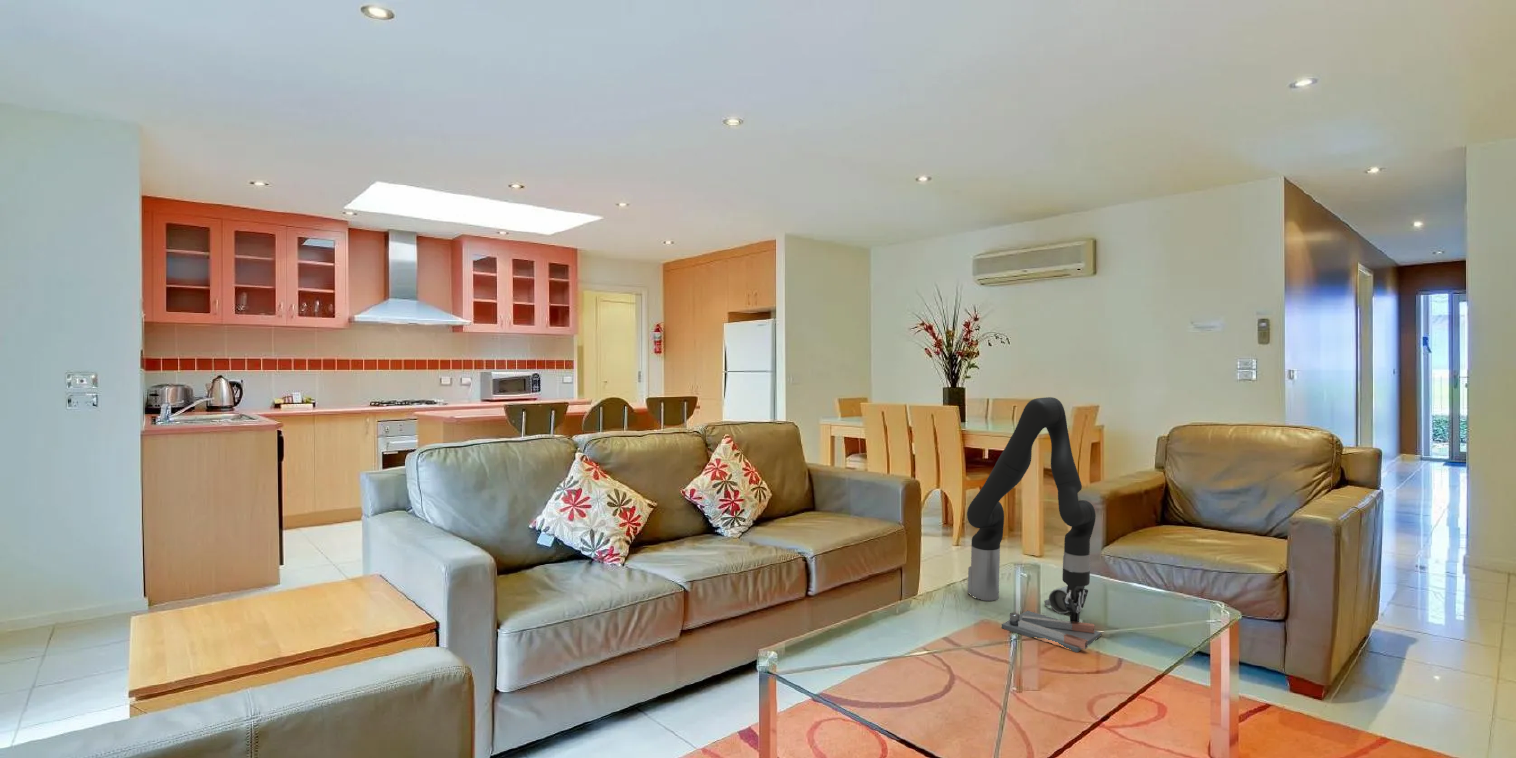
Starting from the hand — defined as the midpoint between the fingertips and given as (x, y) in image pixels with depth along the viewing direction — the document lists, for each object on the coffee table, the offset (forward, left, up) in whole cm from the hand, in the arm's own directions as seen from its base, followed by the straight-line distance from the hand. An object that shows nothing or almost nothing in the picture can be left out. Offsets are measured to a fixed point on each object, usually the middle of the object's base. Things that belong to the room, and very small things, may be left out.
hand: (1074, 623), depth 223 cm
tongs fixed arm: (-3, -12, -1) cm, 12 cm away
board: (-4, -7, -2) cm, 8 cm away
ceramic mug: (-10, +13, -2) cm, 17 cm away
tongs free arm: (-3, -5, -1) cm, 6 cm away
